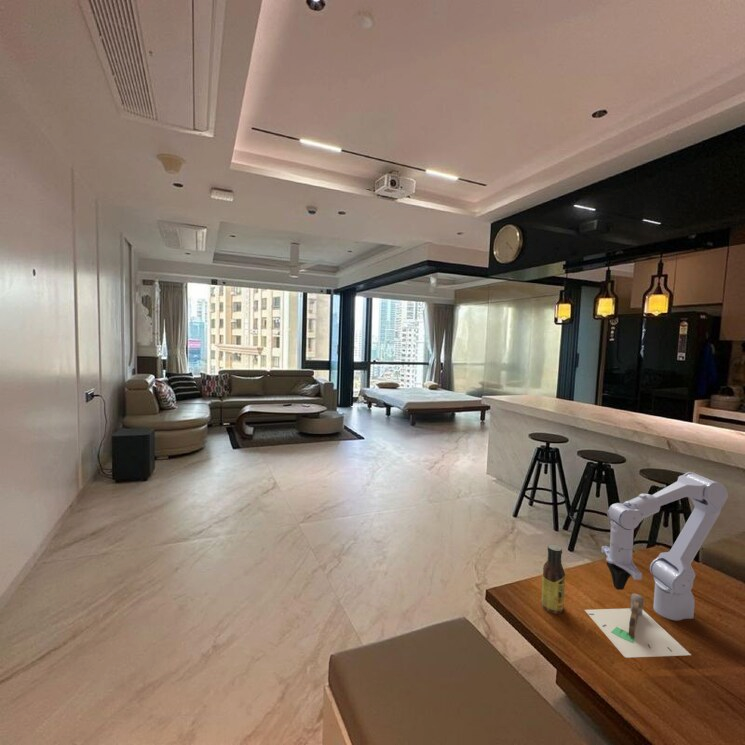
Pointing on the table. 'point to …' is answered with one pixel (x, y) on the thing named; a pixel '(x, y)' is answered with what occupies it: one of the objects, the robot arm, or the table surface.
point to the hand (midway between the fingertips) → (618, 588)
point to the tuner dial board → (636, 634)
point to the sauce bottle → (553, 581)
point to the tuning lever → (635, 612)
